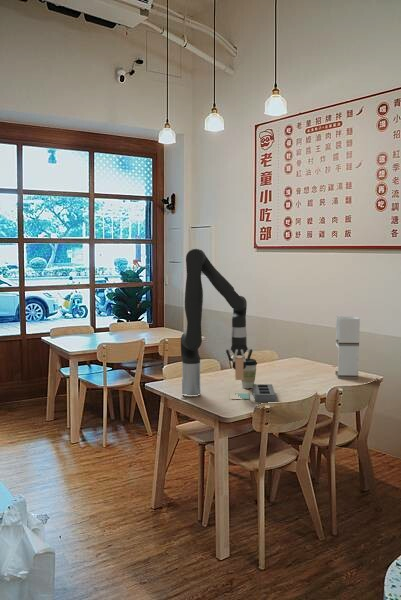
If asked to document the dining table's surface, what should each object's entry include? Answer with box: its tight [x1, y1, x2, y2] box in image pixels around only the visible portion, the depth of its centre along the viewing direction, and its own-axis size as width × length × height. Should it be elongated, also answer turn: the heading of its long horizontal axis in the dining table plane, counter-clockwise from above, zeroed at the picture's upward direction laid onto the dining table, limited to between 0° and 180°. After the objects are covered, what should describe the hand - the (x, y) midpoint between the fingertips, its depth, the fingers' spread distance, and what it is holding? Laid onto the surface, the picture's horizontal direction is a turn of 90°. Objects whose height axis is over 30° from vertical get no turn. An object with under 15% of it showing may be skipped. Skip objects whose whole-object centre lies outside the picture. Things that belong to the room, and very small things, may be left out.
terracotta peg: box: [234, 356, 243, 381], centre depth 271 cm, size 4×4×11 cm
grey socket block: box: [252, 383, 277, 403], centre depth 271 cm, size 10×20×4 cm, turn 178°
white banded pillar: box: [334, 315, 361, 380], centre depth 312 cm, size 11×11×35 cm
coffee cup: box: [240, 358, 258, 389], centre depth 290 cm, size 10×10×15 cm
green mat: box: [234, 392, 250, 400], centre depth 272 cm, size 10×10×1 cm
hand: (239, 368), depth 271 cm, fingers closed on terracotta peg, 4 cm apart
